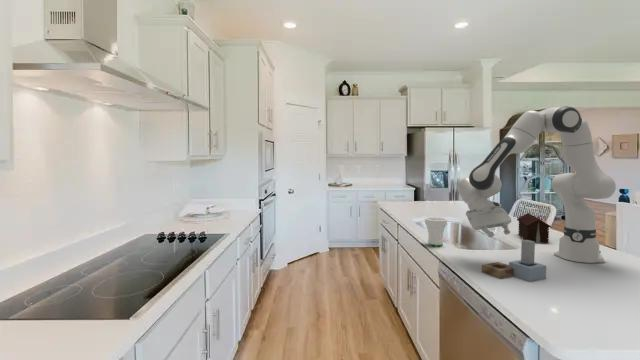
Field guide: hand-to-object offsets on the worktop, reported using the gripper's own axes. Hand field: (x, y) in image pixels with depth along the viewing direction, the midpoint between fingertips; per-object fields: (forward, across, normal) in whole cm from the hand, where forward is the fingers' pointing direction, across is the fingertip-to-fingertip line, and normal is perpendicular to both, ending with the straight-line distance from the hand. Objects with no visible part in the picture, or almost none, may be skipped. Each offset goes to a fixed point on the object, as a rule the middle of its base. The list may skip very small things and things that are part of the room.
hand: (500, 234), depth 151 cm
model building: (-9, +59, +31) cm, 68 cm away
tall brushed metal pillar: (+19, -1, +1) cm, 19 cm away
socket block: (+14, -8, +5) cm, 17 cm away
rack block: (+19, -1, +1) cm, 19 cm away
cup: (-19, 0, +38) cm, 43 cm away
